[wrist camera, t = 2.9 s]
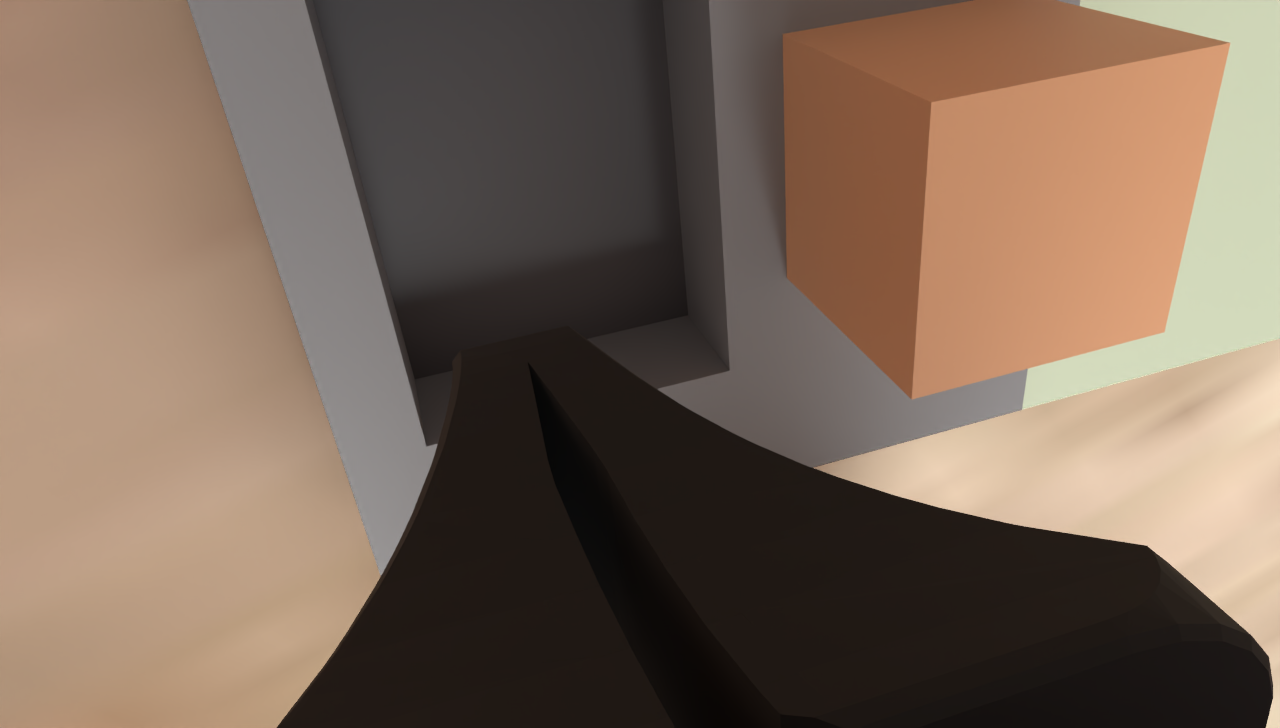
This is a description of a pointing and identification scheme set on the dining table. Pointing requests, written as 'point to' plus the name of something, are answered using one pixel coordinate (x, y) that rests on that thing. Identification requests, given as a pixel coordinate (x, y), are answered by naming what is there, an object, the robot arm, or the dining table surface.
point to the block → (992, 181)
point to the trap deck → (636, 213)
